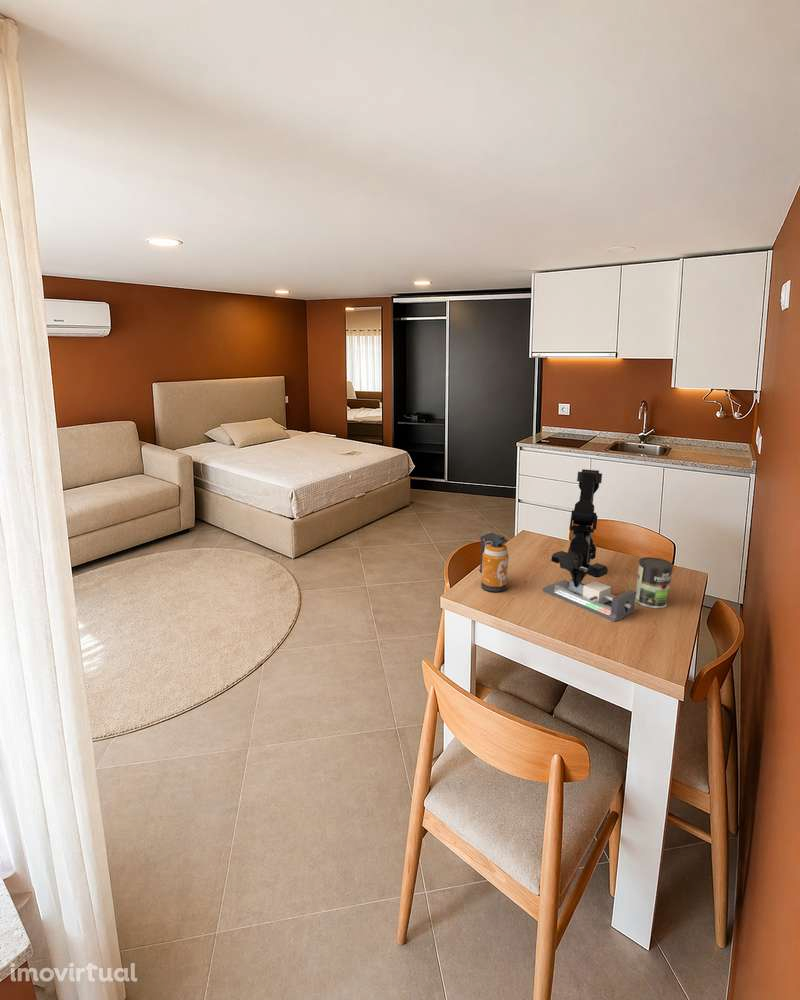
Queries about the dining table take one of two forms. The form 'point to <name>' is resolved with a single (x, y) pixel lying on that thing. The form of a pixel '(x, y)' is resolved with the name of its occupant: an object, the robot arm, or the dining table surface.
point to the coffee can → (653, 582)
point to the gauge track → (607, 610)
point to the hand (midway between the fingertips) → (576, 586)
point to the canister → (494, 562)
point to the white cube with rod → (599, 592)
